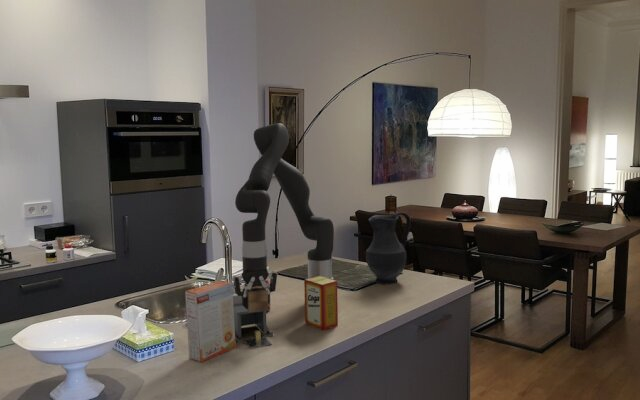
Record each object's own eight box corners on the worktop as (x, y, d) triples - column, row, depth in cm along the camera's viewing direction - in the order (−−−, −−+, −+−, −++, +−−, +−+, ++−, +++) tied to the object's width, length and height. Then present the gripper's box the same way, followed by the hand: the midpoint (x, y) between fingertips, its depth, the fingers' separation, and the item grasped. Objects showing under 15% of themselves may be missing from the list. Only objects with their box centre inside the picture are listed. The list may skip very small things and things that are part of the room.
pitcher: (359, 279, 260) (358, 212, 256) (399, 273, 269) (399, 208, 265) (379, 289, 245) (379, 217, 241) (421, 282, 253) (421, 213, 249)
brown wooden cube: (262, 304, 189) (261, 286, 189) (268, 309, 184) (267, 290, 183) (244, 306, 187) (243, 288, 186) (249, 312, 181) (249, 293, 181)
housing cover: (256, 322, 204) (255, 291, 202) (266, 332, 194) (265, 299, 192) (229, 326, 200) (228, 294, 198) (238, 337, 190) (237, 303, 188)
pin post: (264, 337, 191) (264, 326, 191) (271, 344, 185) (271, 332, 185) (244, 341, 189) (244, 329, 188) (250, 348, 182) (250, 336, 182)
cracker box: (223, 344, 186) (220, 279, 184) (236, 348, 183) (233, 282, 180) (187, 358, 176) (184, 290, 173) (200, 363, 172) (197, 293, 169)
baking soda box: (337, 325, 202) (337, 280, 200) (323, 330, 197) (322, 283, 195) (319, 319, 209) (318, 275, 207) (305, 323, 204) (304, 278, 202)
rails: (260, 322, 206) (260, 319, 206) (273, 335, 193) (273, 332, 193) (223, 328, 201) (223, 325, 201) (234, 342, 188) (234, 338, 188)
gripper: (272, 249, 189) (273, 300, 192) (228, 254, 184) (230, 306, 186) (280, 254, 183) (281, 306, 185) (235, 258, 177) (236, 313, 179)
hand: (256, 306), depth 185 cm, fingers closed on brown wooden cube, 6 cm apart
